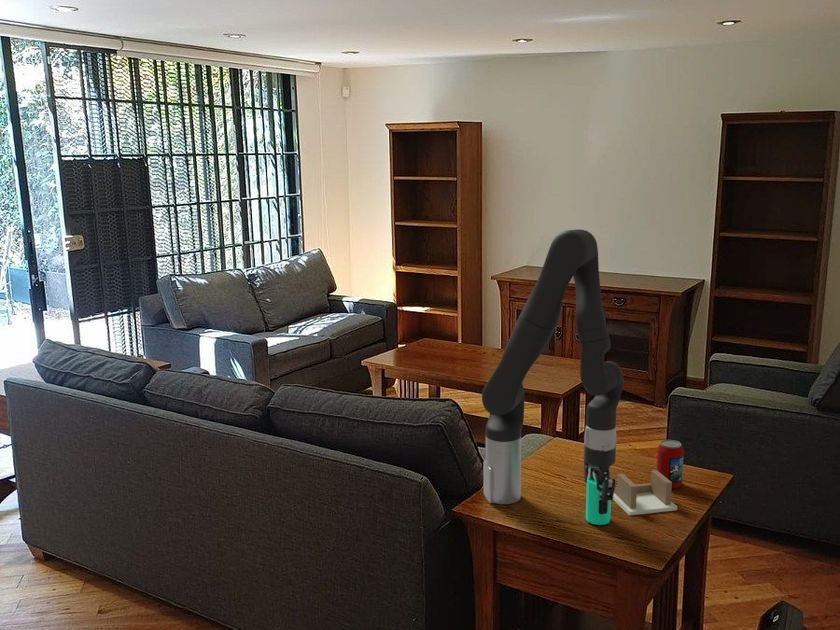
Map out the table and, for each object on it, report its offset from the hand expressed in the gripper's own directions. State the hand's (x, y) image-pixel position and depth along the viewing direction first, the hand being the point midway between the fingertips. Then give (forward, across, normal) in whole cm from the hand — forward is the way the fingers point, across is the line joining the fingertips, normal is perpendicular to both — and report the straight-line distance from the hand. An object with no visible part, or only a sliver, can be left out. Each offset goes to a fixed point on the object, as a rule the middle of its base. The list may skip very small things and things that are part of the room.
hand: (597, 507), depth 197 cm
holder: (+3, -6, +15) cm, 17 cm away
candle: (+3, 0, 0) cm, 3 cm away
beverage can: (+3, -15, +27) cm, 31 cm away
